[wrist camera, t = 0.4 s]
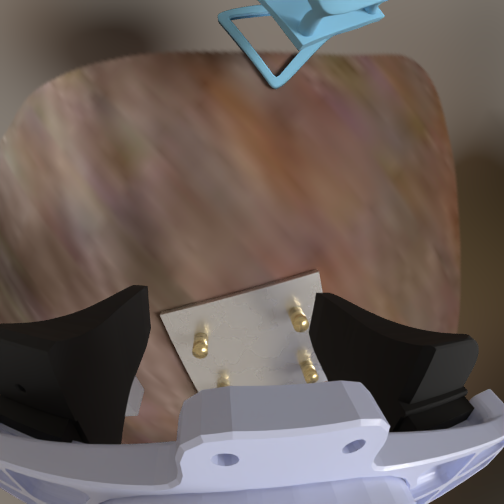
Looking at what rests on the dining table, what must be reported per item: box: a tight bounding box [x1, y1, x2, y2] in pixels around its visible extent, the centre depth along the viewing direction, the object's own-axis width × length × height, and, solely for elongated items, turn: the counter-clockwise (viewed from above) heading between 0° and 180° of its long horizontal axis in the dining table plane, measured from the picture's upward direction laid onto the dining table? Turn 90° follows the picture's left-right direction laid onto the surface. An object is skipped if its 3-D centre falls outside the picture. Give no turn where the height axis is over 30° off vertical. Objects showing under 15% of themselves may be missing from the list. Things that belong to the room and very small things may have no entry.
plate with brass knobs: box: [160, 269, 327, 392], centre depth 23 cm, size 12×13×3 cm
